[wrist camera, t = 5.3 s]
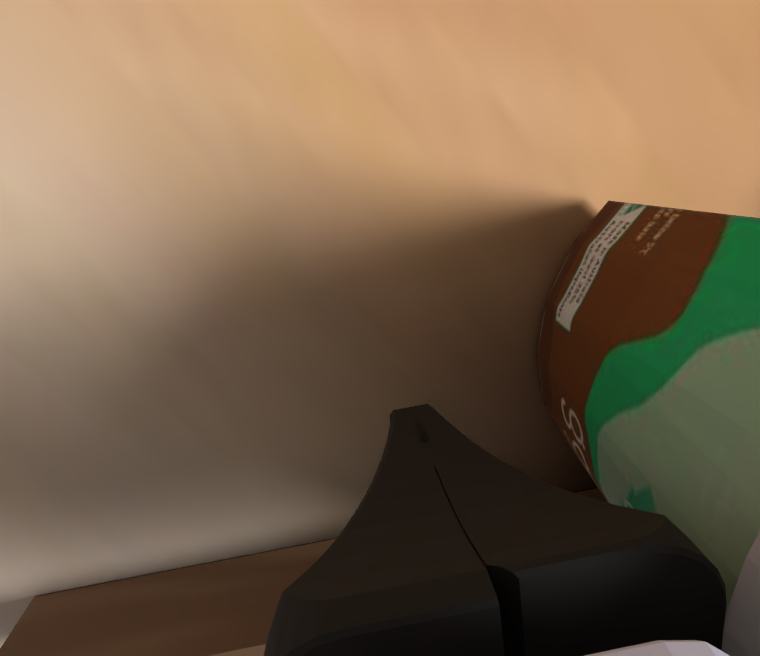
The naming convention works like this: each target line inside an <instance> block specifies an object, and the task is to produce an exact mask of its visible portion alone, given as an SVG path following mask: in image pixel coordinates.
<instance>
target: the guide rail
mask: <svg viewBox="0 0 760 656" xmlns="http://www.w3.org/2000/svg"><path fill="white" fill-rule="evenodd" d="M575 493H576V494H579V495H582V496H586V497H589V498H593V499H596V500H600V501H603V502H606V503H608V502H607V501H606V499H605V498H604V496H603V494H602V493H601V491H600V490H599V488H596V489H591V490H586V491H581V492H575ZM335 540H336V539H332V540H327V541H321V542H316V543H311V544H306V545H301V546H295V547H290V548H285V549H280V550H275V551H270V552H264V553H259V554H254V555H249V556H244V557H238V558H233V559H228V560H223V561H218V562H213V563H207V564H202V565H197V566H192V567H187V568H181V569H176V570H171V571H166V572H161V573H156V574H150V575H145V576H140V577H135V578H130V579H124V580H119V581H114V582H109V583H104V584H98V585H93V586H88V587H83V588H78V589H73V590H67V591H62V592H57V593H52V594H47V595H41V596H36V597H34V599H33V600H32V602H31V603H30V605H29V606H28V608H27V609H26V611H25V612H24V614H23V615H22V617H21V618H20V620H19V621H18V623H17V624H16V626H15V627H14V629H13V630H12V632H11V633H10V635H9V636H8V638H7V639H6V641H5V642H4V644H3V645H2V647H1V648H0V656H264V651H265V647H266V643H267V639H268V635H269V631H270V628H271V624H272V620H273V617H274V614H275V611H276V608H277V605H278V602H279V599H280V597H281V594H282V592H283V591H284V590H285V589H286V588H288V587H289V586H290V585H291V584H292V583H293V582H294V581H296V580H297V579H298V578H299V577H300V576H301V575H302V574H303V573H304V572H305V571H307V570H308V569H309V568H310V567H311V566H312V565H313V564H314V563H315V562H316V561H317V560H318V559H319V558H320V557H321V556H322V555H323V554H324V553H325V552H326V550H327V549H328V548H329V547H330V546H331V544H332V543H333V542H334V541H335Z"/></svg>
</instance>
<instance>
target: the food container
mask: <svg viewBox="0 0 760 656" xmlns="http://www.w3.org/2000/svg"><path fill="white" fill-rule="evenodd" d="M537 361H538V367H539V373H540V379H541V385H542V391H543V397H544V403H545V405H546V407H547V408H548V410H549V412H550V414H551V415H552V417H553V419H554V421H555V422H556V424H557V426H558V427H559V429H560V431H561V433H562V434H563V436H564V437H565V439H566V440H567V442H568V443H569V445H570V446H571V448H572V449H573V451H574V452H575V454H576V455H577V457H578V458H579V460H580V461H581V463H582V464H583V466H584V467H585V469H586V470H587V472H588V473H589V475H590V476H591V478H592V479H593V481H594V482H595V484H596V485H597V487H598V488H599V490H600V491H601V493H602V494H603V496H604V498H605V499H606V501H607V502H608V503H610V504H614V505H619V506H623V507H628V508H633V509H638V510H643V511H647V512H652V513H657V514H662V515H665V516H666V517H667V518H668V519H669V520H670V521H671V522H672V523H673V524H674V525H675V526H677V527H678V528H679V529H680V530H681V531H682V532H683V533H684V534H685V535H686V536H687V537H688V538H689V539H690V540H691V541H692V542H693V543H694V544H695V545H696V546H697V547H698V548H699V549H700V550H701V552H702V553H703V554H704V555H705V556H706V557H707V558H708V559H709V560H710V561H711V562H712V564H713V565H714V566H715V567H716V568H717V569H718V571H719V573H720V575H721V577H722V579H723V581H724V583H725V588H726V602H727V604H726V614H725V621H724V629H723V639H722V649H721V651H723V652H724V653H726V654H728V655H729V656H760V218H753V217H744V216H736V215H727V214H718V213H710V212H701V211H692V210H684V209H675V208H667V207H658V206H649V205H641V204H632V203H623V202H615V201H608V202H607V203H606V205H605V206H604V207H603V208H602V209H601V211H600V212H599V213H598V214H597V215H596V217H595V218H594V219H593V220H592V221H591V223H590V224H589V225H588V226H587V227H586V229H585V230H584V231H583V232H582V233H581V235H580V236H579V237H578V238H577V239H576V241H575V242H574V244H573V246H572V248H571V250H570V252H569V255H568V257H567V259H566V261H565V263H564V265H563V267H562V269H561V271H560V273H559V275H558V277H557V279H556V281H555V283H554V285H553V287H552V289H551V291H550V293H549V295H548V297H547V299H546V304H545V310H544V315H543V321H542V327H541V333H540V338H539V344H538V350H537Z"/></svg>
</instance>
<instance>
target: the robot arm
mask: <svg viewBox="0 0 760 656" xmlns="http://www.w3.org/2000/svg"><path fill="white" fill-rule="evenodd" d="M726 604H727V602H726V588H725V583H724V581H723V579H722V577H721V575H720V573H719V571H718V569H717V568H716V567H715V566H714V565H713V564H712V562H711V561H710V560H709V559H708V558H707V557H706V556H705V555H704V554H703V553H702V552H701V550H700V549H699V548H698V547H697V546H696V545H695V544H694V543H693V542H692V541H691V540H690V539H689V538H688V537H687V536H686V535H685V534H684V533H683V532H682V531H681V530H680V529H679V528H678V527H677V526H675V525H674V524H673V523H672V522H671V521H670V520H669V519H668V518H667V517H666V516H665V515H662V514H657V513H652V512H647V511H643V510H638V509H633V508H628V507H623V506H619V505H614V504H610V503H606V502H603V501H600V500H596V499H593V498H589V497H586V496H582V495H579V494H576V493H573V492H570V491H567V490H565V489H562V488H559V487H557V486H554V485H552V484H549V483H547V482H544V481H542V480H539V479H537V478H535V477H533V476H530V475H528V474H526V473H524V472H522V471H520V470H518V469H516V468H514V467H512V466H510V465H509V464H507V463H505V462H503V461H501V460H499V459H498V458H496V457H494V456H493V455H491V454H490V453H488V452H487V451H485V450H484V449H482V448H481V447H479V446H478V445H477V444H475V443H474V442H473V441H471V440H470V439H469V438H467V437H466V436H465V435H463V434H462V433H461V432H460V431H458V430H457V429H456V428H455V427H453V426H452V425H451V424H450V423H449V422H448V421H447V420H445V419H444V418H443V417H442V416H441V415H440V414H439V413H438V412H437V411H436V410H435V409H434V408H433V407H431V406H430V405H428V404H425V405H420V406H414V407H409V408H403V409H398V410H394V411H393V412H392V413H391V415H390V429H389V434H388V439H387V442H386V446H385V449H384V452H383V456H382V459H381V461H380V464H379V466H378V469H377V471H376V474H375V476H374V479H373V481H372V483H371V485H370V487H369V489H368V491H367V493H366V495H365V497H364V498H363V500H362V502H361V504H360V505H359V507H358V509H357V510H356V512H355V513H354V515H353V516H352V518H351V519H350V521H349V522H348V524H347V525H346V527H345V528H344V530H343V531H342V532H341V534H340V535H339V536H338V537H337V539H336V540H335V541H334V542H333V543H332V544H331V546H330V547H329V548H328V549H327V550H326V552H325V553H324V554H323V555H322V556H321V557H320V558H319V559H318V560H317V561H316V562H315V563H314V564H313V565H312V566H311V567H310V568H309V569H308V570H307V571H305V572H304V573H303V574H302V575H301V576H300V577H299V578H298V579H297V580H296V581H294V582H293V583H292V584H291V585H290V586H289V587H288V588H286V589H285V590H284V591H283V592H282V594H281V597H280V599H279V602H278V605H277V608H276V611H275V614H274V617H273V620H272V624H271V628H270V631H269V635H268V639H267V643H266V647H265V651H264V656H729V655H728V654H726V653H724V652H723V651H721V649H722V639H723V629H724V621H725V614H726Z"/></svg>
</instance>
